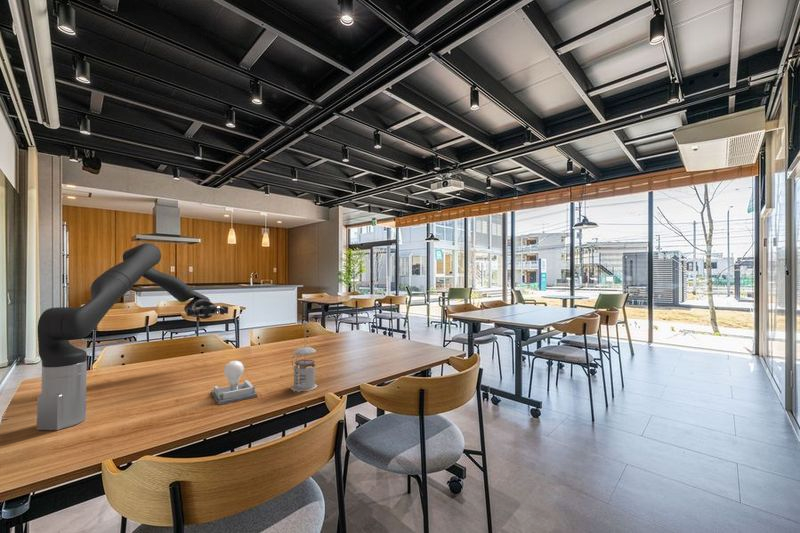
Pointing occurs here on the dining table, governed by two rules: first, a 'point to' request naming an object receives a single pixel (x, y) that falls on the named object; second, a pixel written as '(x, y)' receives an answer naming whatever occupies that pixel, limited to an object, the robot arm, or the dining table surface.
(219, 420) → the dining table surface
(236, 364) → the lightbulb
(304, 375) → the french press
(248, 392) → the u holder
